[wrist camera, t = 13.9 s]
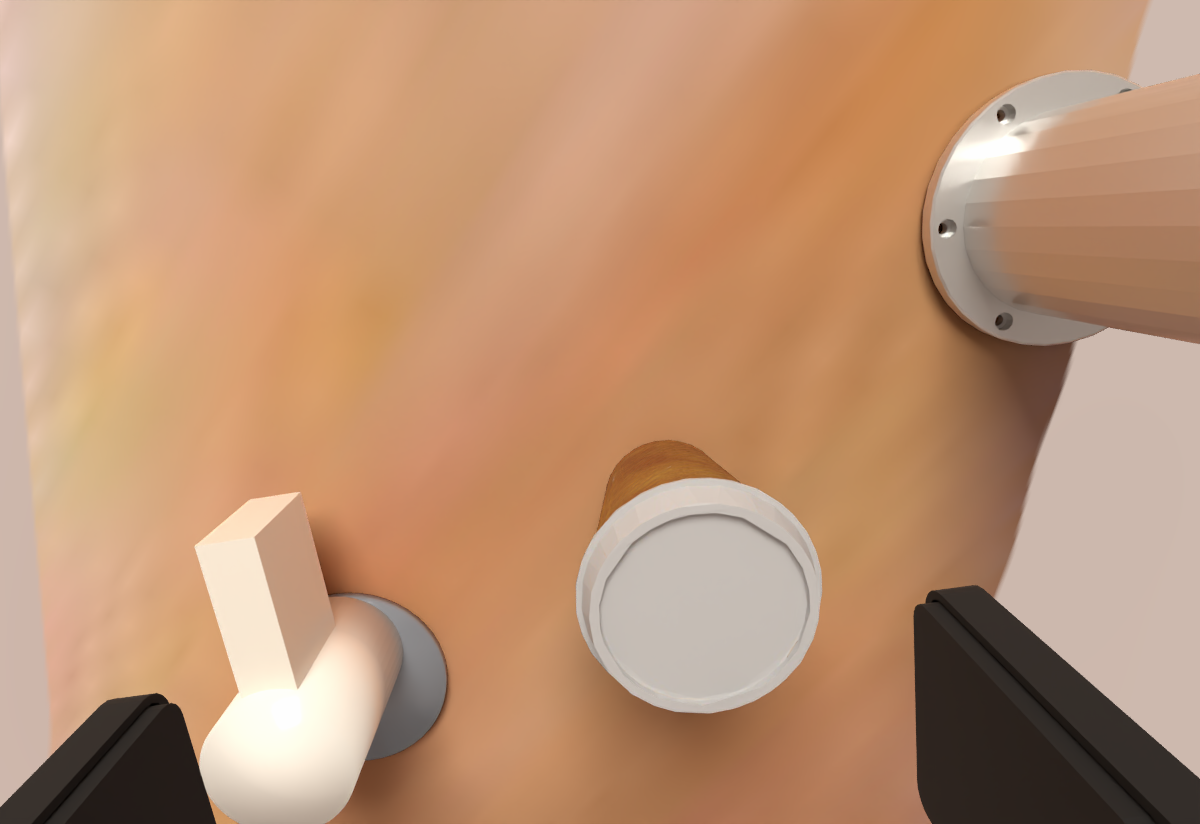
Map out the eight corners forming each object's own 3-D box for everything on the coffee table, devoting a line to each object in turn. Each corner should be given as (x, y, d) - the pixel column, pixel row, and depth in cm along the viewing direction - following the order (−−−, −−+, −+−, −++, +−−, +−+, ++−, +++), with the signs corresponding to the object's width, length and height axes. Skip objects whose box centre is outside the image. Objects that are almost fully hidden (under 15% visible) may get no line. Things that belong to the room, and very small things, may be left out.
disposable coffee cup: (558, 562, 39) (552, 703, 28) (595, 392, 37) (606, 467, 26) (729, 594, 40) (793, 742, 29) (775, 429, 38) (865, 517, 26)
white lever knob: (414, 693, 40) (370, 822, 32) (298, 711, 40) (223, 844, 32) (359, 466, 37) (294, 539, 28) (233, 485, 37) (130, 564, 28)
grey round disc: (429, 581, 39) (427, 586, 39) (461, 740, 42) (460, 748, 41) (243, 606, 39) (238, 611, 39) (286, 764, 42) (282, 771, 41)
